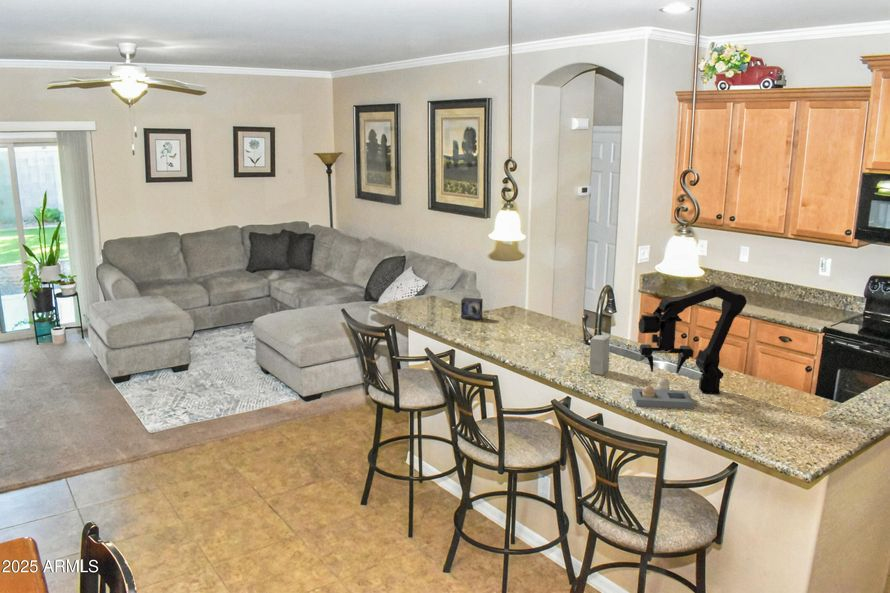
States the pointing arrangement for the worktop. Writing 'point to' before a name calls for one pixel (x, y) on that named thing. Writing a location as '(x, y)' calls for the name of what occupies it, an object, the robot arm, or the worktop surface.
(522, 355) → the worktop surface
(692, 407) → the egg carton
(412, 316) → the worktop surface
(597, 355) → the skincare box
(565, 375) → the worktop surface
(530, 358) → the worktop surface
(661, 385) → the egg
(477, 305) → the small box
